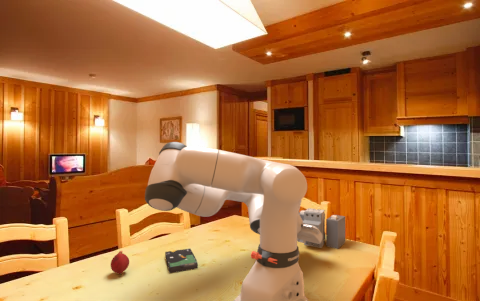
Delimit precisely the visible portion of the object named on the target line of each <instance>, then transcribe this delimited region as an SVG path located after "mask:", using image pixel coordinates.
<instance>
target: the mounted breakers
mask: <svg viewBox="0 0 480 301" xmlns="http://www.w3.org/2000/svg"><path fill="white" fill-rule="evenodd" d="M306 210H307V209H305V210H304V209H303V210H299V215H300V217H301V218H302V220H303V221H304V211H306ZM325 220H326V222H325V223H326V224H325V226H326V230H325V231H326V232H325V243H326V244H325V245H326V247H327V248H328V247H329V248H332V249H336V250H338V249H340V247H342V246H343V245H345V243H346V216H344V215H339V214H332V215H331V216H329V217H328V218H325Z"/></svg>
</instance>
